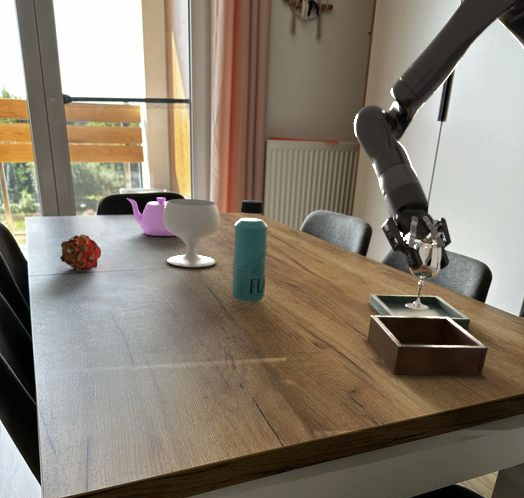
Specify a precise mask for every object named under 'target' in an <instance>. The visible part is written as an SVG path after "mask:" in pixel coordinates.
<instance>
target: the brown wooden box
mask: <svg viewBox="0 0 524 498" xmlns="http://www.w3.org/2000/svg"><path fill="white" fill-rule="evenodd" d="M368 326H369V327H368V333H367V341H368V343H369V344H370V345H371V347H372V348H373V350H374V351H375V352H376V354H377V355H378V357H380V358H381V360H382V361H383V363H384V364H385V365H386V367H387V368H388V369H389V371H391V373H392V374H393V375H395V376H482V374H483V369H484V366H485V362H486V357H487V354H488V351H489V350H488V349H489V347H487V346H486V345H485V344H484V343H482V342H481V341H480V340H479V339H477V338H476V337H474V336H473V335H472V334H470V333H469V332H468V330H464V329H463V328H462V327H460V326H459V325H458V324H456V323H455V322H454V321H453V320H451V319H450V318H449V317H423V316H381V315H379V314H376V315H373V314H371V315H370V321H369V325H368ZM402 343H418V344H402ZM419 343H421V344H419ZM422 343H423V344H422ZM424 343H427V344H424ZM429 343H431V344H429ZM437 344H438V345H437Z"/></svg>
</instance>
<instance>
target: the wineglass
mask: <svg viewBox="0 0 524 498" xmlns="http://www.w3.org/2000/svg"><path fill="white" fill-rule="evenodd" d="M413 248H416V251H417V253H418V256H419V259H420V261H421V267H420V268H419V269H417V270H416V271H412V270H411V268H410V267H409V266H408V267H409V271H410V274H411V275H412V276H414V277H415V278H417V279H420V280H419V281H418V285H417V286H418V292H417V295H418V297H417V300H416V301H415V302H411V303H406V307H408V308H411V309H414V310H427V309H429V307H428V306H427V305H424V304H421V302H420V296H422V295H421V294H422V291H423V288H424V286H425V281H424V280H428V279H432V278H435V277H436V276H437V275H438V273H439V272H440V270H441V269H440V267H441V260H442V251H441V246H439V245H437V244H436V243H434V244H429V243H423V242H417V243H415V244H414V247H413Z"/></svg>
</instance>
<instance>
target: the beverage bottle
mask: <svg viewBox="0 0 524 498" xmlns="http://www.w3.org/2000/svg"><path fill="white" fill-rule="evenodd" d="M263 212H264V209H263V201H261V200H255V199H244V200H241V204H240V213H244V214H251V215H253V214H254V215H259V214H263ZM268 228H269V227H268V224H267V223H266V222H265V221H264V219H262V218H257V217H242V218H240V219H238V221H236V222H235V224H234V242H233V262H232V280H231V282H232V297H233V299H235V300H237V301H240V302H246V303H247V302H248V303H249V302H250V303H254V302H259V301H260V302H261V301H262V300H263V298H264V297H265V291H266V288H265V287H266V272H267V269H266V260H267V248H268V245H267V244H268V240H267V239H268Z"/></svg>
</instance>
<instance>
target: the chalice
mask: <svg viewBox="0 0 524 498" xmlns="http://www.w3.org/2000/svg"><path fill="white" fill-rule="evenodd" d="M166 202H167V203H166V205H165V208H164V212H163V224H164V226H165V228H166V229H167V230H168V231H169V232H171V233H172V234H174V236H175V237H177V238H178V239H180V240H181V241H183V242H184V244H185V246H186V247H187V251H186V254H181V255H173V256H170V257H169V258H167V260H166V262H167V263H168V264H169V265H173V266H177V267H183V268H203V267H210V266H212V265H215V264H216V260H215V259H213V258H211V257H208V256H204V255H199V254H197V252H196V246H197V244H198V243H199V242H201V241H202V240H204V239H205V238H207V237H210V236H211V235H213V234H214V233H215V232H216V231H218V229H219V228H220V223H221V218H220V213H219V208H218V206H217V204H216V202H215V201H211V200H205V199H196V198H173V199H169V200H166Z"/></svg>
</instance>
